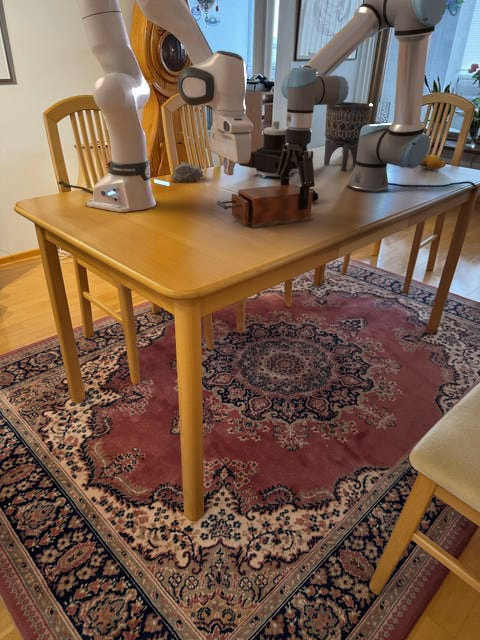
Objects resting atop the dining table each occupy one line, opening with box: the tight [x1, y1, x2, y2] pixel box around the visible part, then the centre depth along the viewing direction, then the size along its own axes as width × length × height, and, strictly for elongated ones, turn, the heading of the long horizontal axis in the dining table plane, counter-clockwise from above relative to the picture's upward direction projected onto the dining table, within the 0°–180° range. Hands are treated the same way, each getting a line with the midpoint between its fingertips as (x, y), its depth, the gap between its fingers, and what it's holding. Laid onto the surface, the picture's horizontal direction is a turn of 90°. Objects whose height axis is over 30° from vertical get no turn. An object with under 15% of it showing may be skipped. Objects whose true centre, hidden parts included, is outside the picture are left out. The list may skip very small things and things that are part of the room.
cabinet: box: [237, 183, 313, 228], centre depth 139 cm, size 20×11×9 cm, turn 115°
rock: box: [170, 161, 204, 183], centre depth 180 cm, size 13×9×6 cm, turn 131°
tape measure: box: [309, 188, 319, 202], centre depth 158 cm, size 7×7×4 cm
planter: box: [323, 101, 374, 172], centre depth 204 cm, size 20×20×26 cm
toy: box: [418, 154, 447, 171], centre depth 211 cm, size 11×6×15 cm
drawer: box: [216, 193, 252, 226], centre depth 137 cm, size 24×10×7 cm, turn 115°
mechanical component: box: [238, 120, 303, 178], centre depth 191 cm, size 22×21×30 cm
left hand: (228, 174), depth 128 cm, fingers closed
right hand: (292, 204), depth 142 cm, fingers closed on cabinet, 11 cm apart
